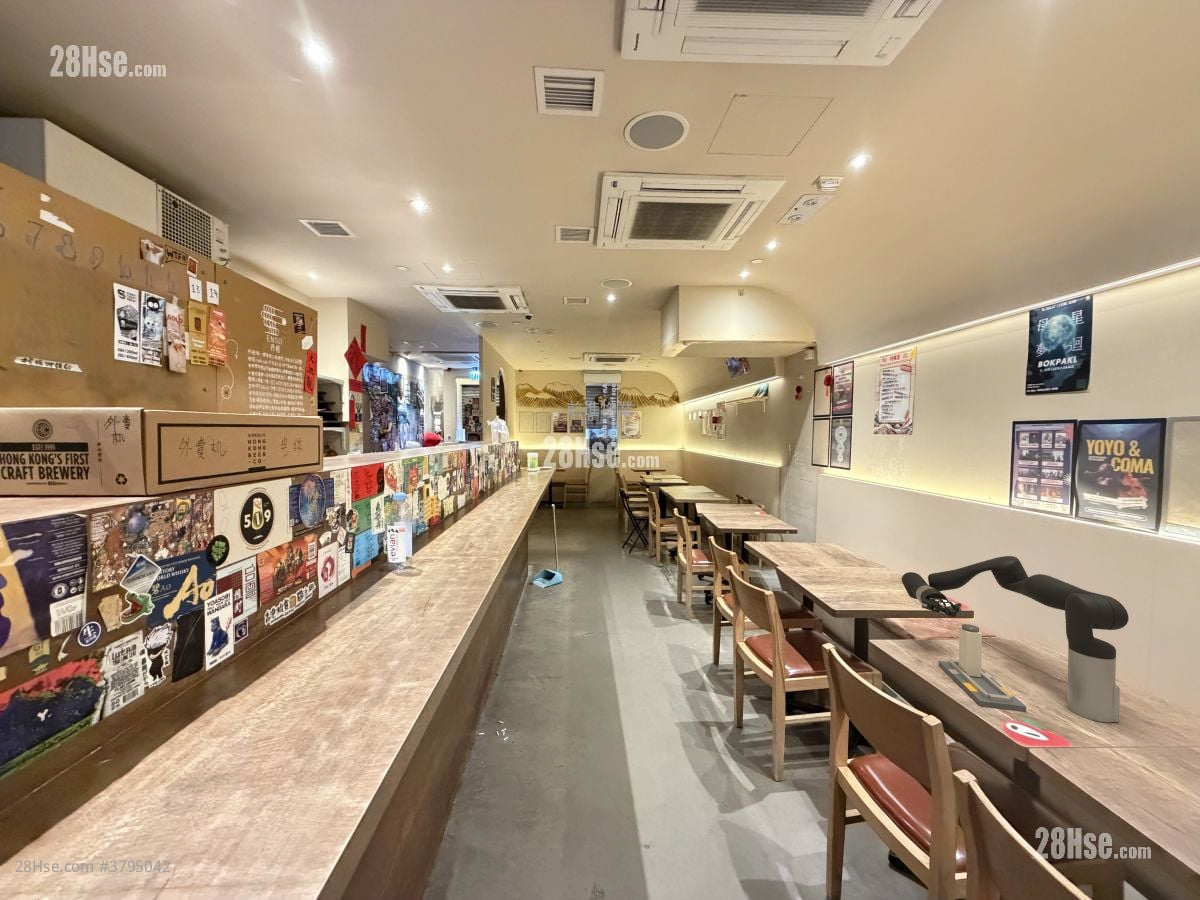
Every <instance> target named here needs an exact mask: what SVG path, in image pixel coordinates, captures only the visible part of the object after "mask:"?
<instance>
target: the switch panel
mask: <svg viewBox="0 0 1200 900" xmlns="http://www.w3.org/2000/svg"><path fill="white" fill-rule="evenodd" d="M938 666H939V667H940V668H941V669H942V670H943V671H944V672H945V673H946V674H947V675H948V676H949V677H950V678H951V679H952V680H953V681H954V682H955V683H957V685H958V686H959V687H960V688H961V689H962V690H963V691H964V692H966V694H967V695H969V696H970V698H971V699H972V700H973V701H974V702H975V703H976V704H977V705H978V706H979V707H982V708H991V709H998V710H1000V709H1001V710H1008V711H1016V712H1025V713H1026V712H1027V705H1025V704H1024V703H1023V702H1021V701H1020V700H1019V699H1018V698H1017V697H1016V696H1014V694H1013V693H1011V692H1010V691H1009V690H1008V689H1007V688H1005V687H1004V686H1003V685H1001V684H1000V683H999V682H998V681H997V680H996V679H994V678H993V677H992V676H991V675H990V674H989V673H987V671H985V670H983V668H981V677H974V676H968V675H967V674H966V673H965V672H964V671H963V670H962V669H961V668H959V659H948V660H947V661H946V660H938Z"/></svg>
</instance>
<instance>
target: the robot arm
mask: <svg viewBox="0 0 1200 900" xmlns="http://www.w3.org/2000/svg"><path fill="white" fill-rule="evenodd" d="M989 571H990V572H991V573H992V576H993V577H994V579H995V581H996V583H997V584H998V585H999V586H1000V587H1001V588H1002V589H1003V590H1004V589H1005V590H1007V591H1011V592H1014V593H1017V594H1020V595H1023V596H1024V597H1027V598H1029V599H1032V600H1033V601H1036V602H1038V603H1040V604H1042V605H1044V606H1045V607H1048V608H1052V609H1056V610H1060V611H1064V615H1065V633H1066V634H1065V635H1066V638H1067V643H1068V645H1067V647H1068V648H1067V649H1068V650H1067V655H1068V656H1067V699H1066V701H1067V702H1066V703H1067V704H1066V705H1067V709H1068V710H1069V711H1070V712H1072V713H1074V714H1076V715H1078V716H1079V717H1082V718H1086V719H1087V720H1091V721H1096V722H1099V723H1120V700H1121V699H1120V698H1121V697H1120V694H1121V692H1120V691H1121V689H1120V688H1121V687H1120V686H1119V685H1117V683H1116V682H1117V681H1116V680H1117V679H1116V676H1117V675H1116V672H1117V671H1116V670H1117V669H1116V667H1117V666H1116V665H1117V663H1116V662H1117V649H1116V647H1115V646H1114V645H1113V644H1112V643H1109V642H1108V641H1105V640H1102V639H1100V638H1098V637H1095V636H1094V632H1093V630H1102V631H1103V630H1104V631H1116V630H1120V629H1124V627H1126V626H1127V624H1128V622H1129V618H1130V617H1129V613H1128V611H1127V609H1126V608H1125V606H1124V605H1123V604H1122V603H1121V602H1120V601H1118V600H1117V599H1116V598H1114V597H1112V596H1109V595H1106V594H1105V595H1104V594H1101V593H1096V592H1092V591H1088V590H1085V589H1083V588H1080V587H1078V586H1076V585H1073V584H1071V583H1069V582H1065V581H1063V580H1061V579H1058V578H1057V577H1056V578H1055V577H1053V576H1050V575H1048V574H1041V573H1039V574H1032V575H1031V576H1028V574H1027V571H1026V570H1025V568H1024V566H1023V564H1022V562H1021V561H1020V559H1019V558H1018V557H1016V556H1014V555H1005V556H998V557H994V558H990V559H987V560H984V561H981V562H980V561H979V562H976V563H973V564H970V565H969V564H968V565H967V566H963V567H960V568H956V569H951V570H945V571H939V572H933V573H930V574H928V575H927V582H928V583H927V582H926V580H925V579H924V578H923V576H921V574H919V573H917V572H913V571H911V572H910V571H908V572H906V573H904V574H903V575H902V576H901V583H902V585H903V587H904V589H905V591H906V593H907V594H908V596H909V597H910V598H911V599H913V600H914V599H915V600H918V601H919V603H920V604H921V608H922V609H925V610H927V611H928V610H929V611H931V612H935V613H941V614H945V615H946V616H949V618H956V617H957V615H958V614H959V613H961V612H962V606H963V605H962V603H960V602H959V603H953V602H952V601H949V600H948V598H947V596H946V595H945V594H944V593H943V592H945V591H951V590H957V589H960V588H962V587H964V586H966V585H967V584H968V583H969V582H970V581H971V580H972V579H973V578H975V577H976V576H978V575H979V574H981V573H985V572H989Z"/></svg>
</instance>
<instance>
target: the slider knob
mask: <svg viewBox="0 0 1200 900" xmlns="http://www.w3.org/2000/svg"><path fill="white" fill-rule="evenodd" d="M982 640H983V633H982V632H981V631H980V627H978V626H977V625H973V624H969V623H968V624H967V623H965V624H964V623H962V624H961V626H960V625H959V626H958V660H959V668H961V669H962V670H963V671H964V672H965V673H966V674H967V675H968V676H974V677H981V669H982V657H983V655H982V653H983V652H982V650H983V648H982V647H983V646H982V645H983V642H982Z"/></svg>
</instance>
